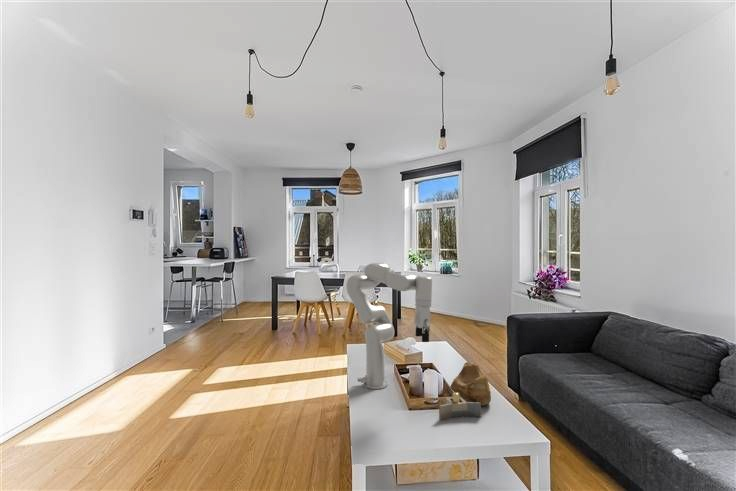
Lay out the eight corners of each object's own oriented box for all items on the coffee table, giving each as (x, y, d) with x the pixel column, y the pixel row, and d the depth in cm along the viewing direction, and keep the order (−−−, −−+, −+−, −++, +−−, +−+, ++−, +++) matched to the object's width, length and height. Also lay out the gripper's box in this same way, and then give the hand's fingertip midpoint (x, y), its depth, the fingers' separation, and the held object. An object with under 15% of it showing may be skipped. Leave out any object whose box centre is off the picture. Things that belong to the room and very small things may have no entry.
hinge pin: (454, 415, 165) (454, 394, 165) (451, 412, 168) (451, 392, 168) (460, 415, 166) (460, 394, 166) (457, 412, 169) (457, 391, 169)
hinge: (439, 420, 160) (439, 406, 160) (433, 412, 169) (433, 398, 169) (481, 417, 164) (481, 403, 164) (472, 409, 172) (472, 395, 172)
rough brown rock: (446, 391, 195) (444, 362, 195) (478, 387, 196) (476, 359, 195) (458, 412, 172) (455, 379, 172) (494, 408, 173) (492, 376, 172)
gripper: (410, 299, 188) (409, 334, 188) (421, 306, 171) (419, 344, 171) (425, 299, 189) (423, 334, 189) (437, 306, 172) (435, 344, 172)
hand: (422, 338), depth 180 cm, fingers open, 9 cm apart
